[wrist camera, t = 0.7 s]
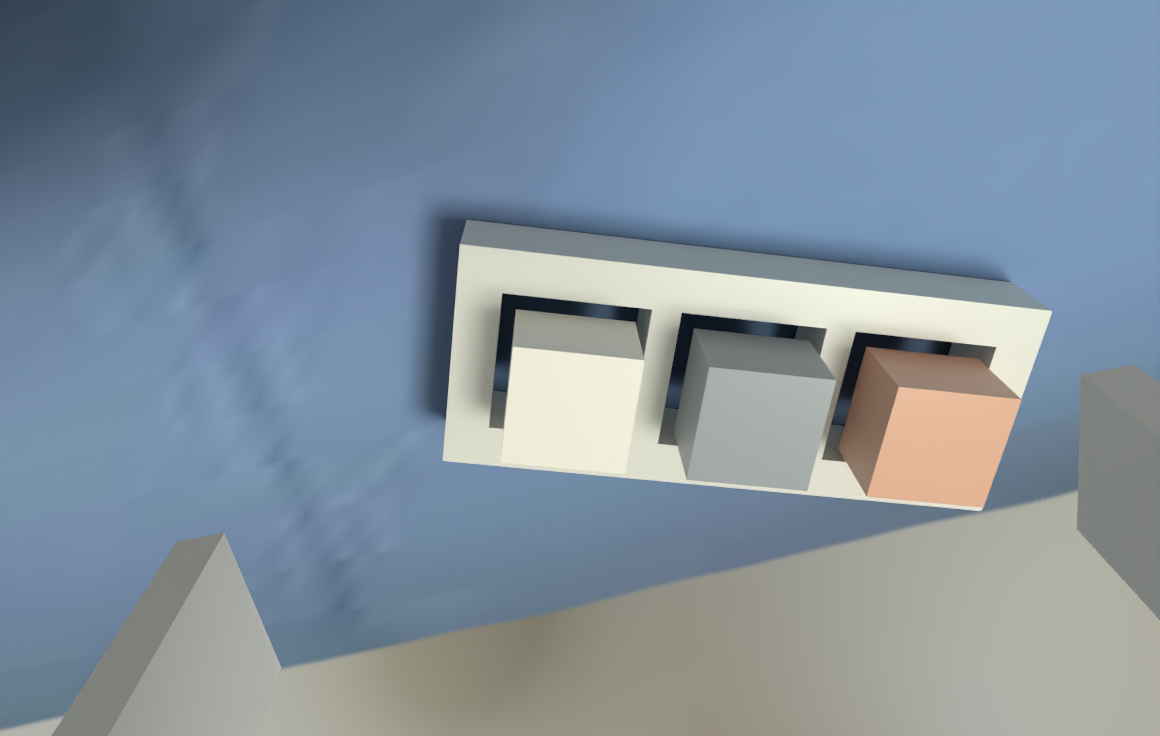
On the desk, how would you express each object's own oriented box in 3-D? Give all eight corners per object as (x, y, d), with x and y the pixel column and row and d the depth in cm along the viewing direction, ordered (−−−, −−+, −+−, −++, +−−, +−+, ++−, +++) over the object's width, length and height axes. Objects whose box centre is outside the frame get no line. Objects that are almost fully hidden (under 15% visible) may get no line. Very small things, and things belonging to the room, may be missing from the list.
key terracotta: (838, 448, 33) (866, 496, 30) (866, 346, 32) (898, 386, 29) (945, 459, 34) (983, 507, 31) (978, 359, 32) (1021, 399, 29)
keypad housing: (450, 421, 36) (442, 461, 33) (467, 219, 32) (459, 244, 30) (949, 470, 37) (981, 510, 35) (1011, 282, 34) (1052, 310, 31)
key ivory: (504, 416, 32) (500, 462, 29) (515, 309, 31) (512, 346, 28) (617, 427, 33) (625, 474, 30) (635, 321, 31) (644, 360, 28)
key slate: (673, 432, 33) (686, 479, 30) (693, 328, 31) (709, 367, 28) (783, 443, 33) (807, 491, 30) (809, 340, 32) (836, 380, 29)
